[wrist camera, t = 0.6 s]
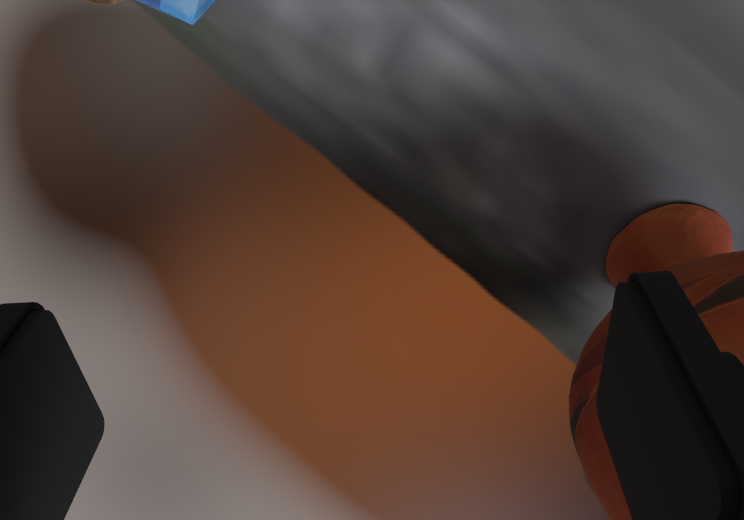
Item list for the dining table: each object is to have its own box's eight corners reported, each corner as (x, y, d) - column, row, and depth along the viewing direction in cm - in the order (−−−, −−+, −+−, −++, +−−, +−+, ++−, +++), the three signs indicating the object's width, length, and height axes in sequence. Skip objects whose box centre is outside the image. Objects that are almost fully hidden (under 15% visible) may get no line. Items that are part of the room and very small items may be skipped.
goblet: (549, 364, 54) (629, 701, 34) (514, 173, 43) (601, 504, 23) (795, 325, 50) (1047, 682, 30) (824, 103, 39) (1248, 432, 19)
